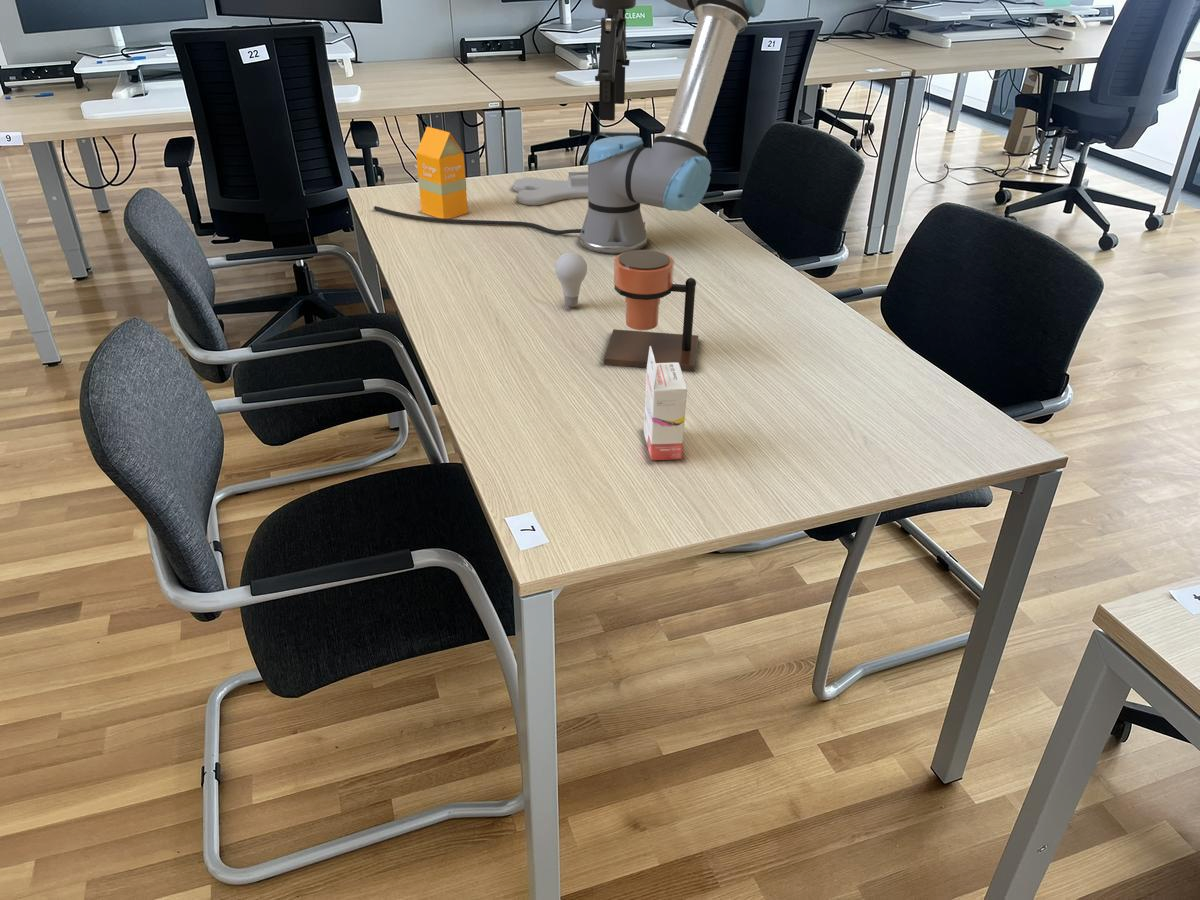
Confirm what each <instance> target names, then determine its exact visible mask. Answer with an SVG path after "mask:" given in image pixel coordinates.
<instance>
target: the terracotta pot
mask: <svg viewBox="0 0 1200 900" xmlns="http://www.w3.org/2000/svg"><path fill="white" fill-rule="evenodd" d="M674 269H675V260H674V258H673V257H672V256H671V255H669V254H667V253H664V252H660V251H657V250H652V249H640V250H633V251H628V252H624V253H620V254H618V255H616V256H615V258H614V261H613V284H614V286H616V287H617V288H619V289H620V290H622V291H625V292H629V293H634V294H657V293H661V292H664V291H667V290H669V289H670V288H671V287H672V285H673V284H674ZM624 297H625V296H624ZM624 303H625V325H626V326H627V327H628V328H630V329H632V330H635V331H649V330H653V329H655V328H657V326H658V325H659V309H660V308H659V307H660V304H661V298H657V299H651V300H641V299H632V298H628V297H625V298H624Z"/></svg>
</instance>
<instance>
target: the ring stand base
mask: <svg viewBox="0 0 1200 900" xmlns="http://www.w3.org/2000/svg"><path fill="white" fill-rule="evenodd" d="M682 338H683V333H682V334H681V333H669V332H656V331H655V332H654V331H644V330H629V329H628V330H627V329H612V332H611V335H610V339H609V341H608V345H607V348H606V352H605V354H604V357H603V365H606V366H617V367H618V366H619V367H632V368H644V369H647V362H648V355H649V348H650V346H651V348H652V351H653V355H654V359H655V362H656V363H679V365H680V368H681V371H682V372H695V367H696V360H697V354H698V346H699V338H700V337H699V335H697V334H694V335H693V334H692V341H691V350H690V351H684V350H682ZM651 363H652V362H651Z"/></svg>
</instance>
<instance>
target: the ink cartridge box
mask: <svg viewBox="0 0 1200 900" xmlns="http://www.w3.org/2000/svg"><path fill="white" fill-rule="evenodd" d="M651 362H652V363H651ZM644 394H645V395H644V415H643V435H644V439H645V444H646V447H647V450H648V454H649V458H650V461H669V460H682V459H683V448H684V436H685V435H684V433H685V421H686V420H685V419H686V408H687V407H686V406H687V395H688V387H687V383H686V380H685V377H684V374H683V371H681V368H680V365H679V363H656V362H655V359H654V355H653V351H652V348H651V346H650V348H649V355H648V362H647V368H646V374H645V393H644Z"/></svg>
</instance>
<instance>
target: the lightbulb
mask: <svg viewBox="0 0 1200 900" xmlns="http://www.w3.org/2000/svg"><path fill="white" fill-rule="evenodd" d="M554 271H555V275H556V277H557V279H558V281H559V283H560V284H561V288H562V295H563V296H564V305H565V306H566V307H568V308H570V309H573V308H574V307H576V306H577V305H578V304H579V295H580V291H581V286H582V283H583V282H584V280H585V278H586V276H587V273H588V264H587V261H586V259H585V258H584V257H583V256H582V255H581V254H579V253H577V252H573V251H569V252H565V253H563V254H561V255H560V256H559V257H558V258H557V260H556V262H555V266H554Z"/></svg>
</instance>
